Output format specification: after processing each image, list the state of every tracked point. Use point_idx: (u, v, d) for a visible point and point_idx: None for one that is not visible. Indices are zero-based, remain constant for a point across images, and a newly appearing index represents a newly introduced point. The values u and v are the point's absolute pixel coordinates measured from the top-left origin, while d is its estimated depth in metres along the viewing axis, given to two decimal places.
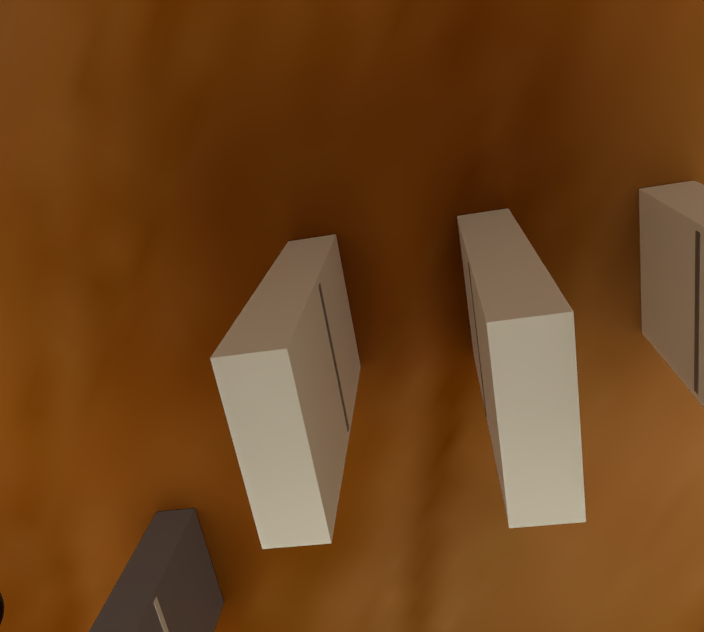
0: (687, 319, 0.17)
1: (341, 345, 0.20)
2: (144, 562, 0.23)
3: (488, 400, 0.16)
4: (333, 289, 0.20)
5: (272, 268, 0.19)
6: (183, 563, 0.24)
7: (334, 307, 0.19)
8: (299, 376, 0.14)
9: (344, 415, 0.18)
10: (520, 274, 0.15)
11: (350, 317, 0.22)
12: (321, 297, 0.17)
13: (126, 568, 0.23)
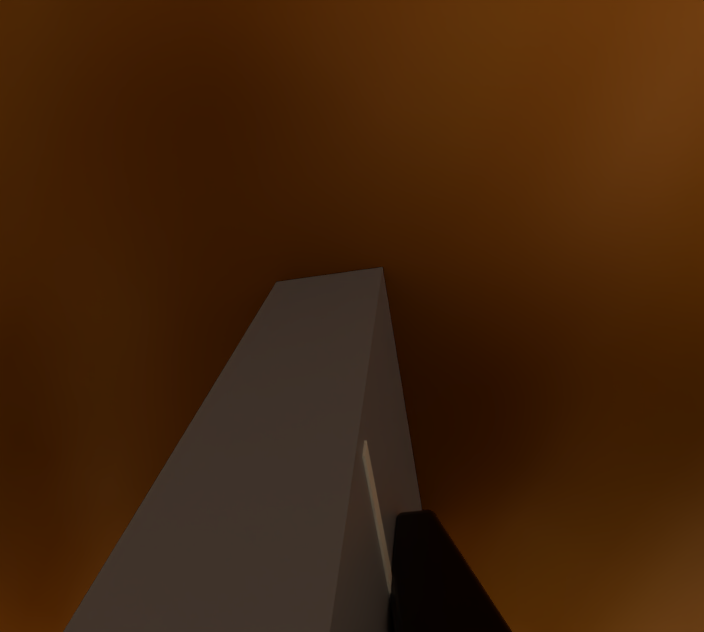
0: None
1: None
2: (284, 360, 0.07)
3: None
4: None
5: None
6: (386, 385, 0.08)
7: None
8: None
9: None
10: None
11: None
12: None
13: (225, 375, 0.07)
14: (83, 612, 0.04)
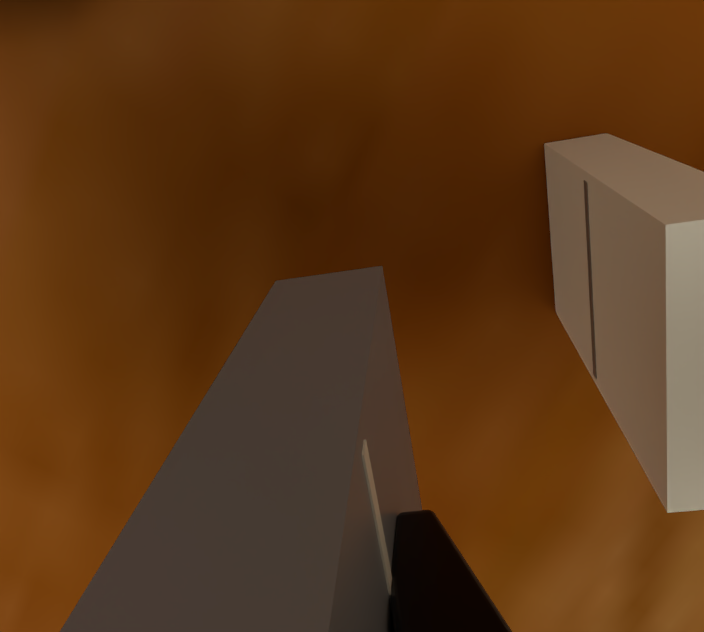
0: None
1: None
2: (283, 358, 0.07)
3: None
4: None
5: (573, 159, 0.15)
6: (386, 384, 0.08)
7: None
8: None
9: None
10: None
11: None
12: None
13: (224, 373, 0.07)
14: (80, 612, 0.04)
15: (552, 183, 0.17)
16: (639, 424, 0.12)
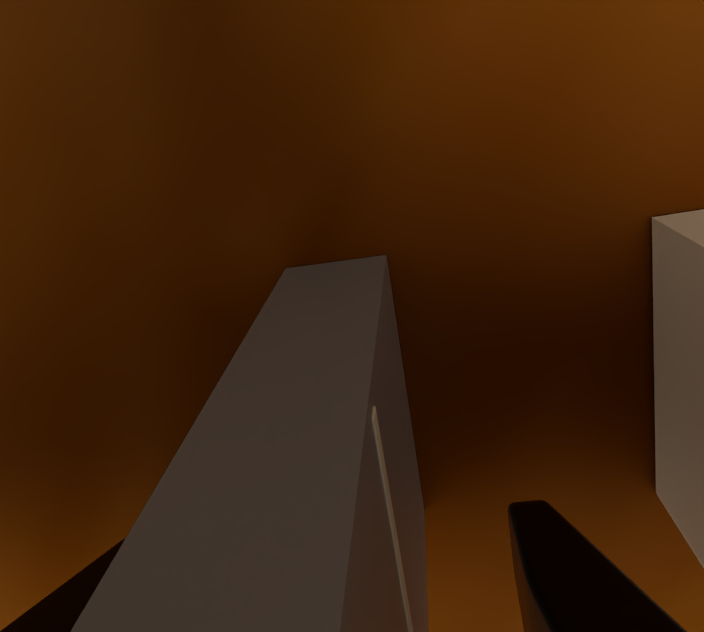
0: None
1: None
2: (296, 336, 0.08)
3: None
4: None
5: None
6: (390, 363, 0.09)
7: None
8: None
9: None
10: None
11: None
12: None
13: (242, 350, 0.07)
14: (129, 544, 0.05)
15: (675, 295, 0.09)
16: None
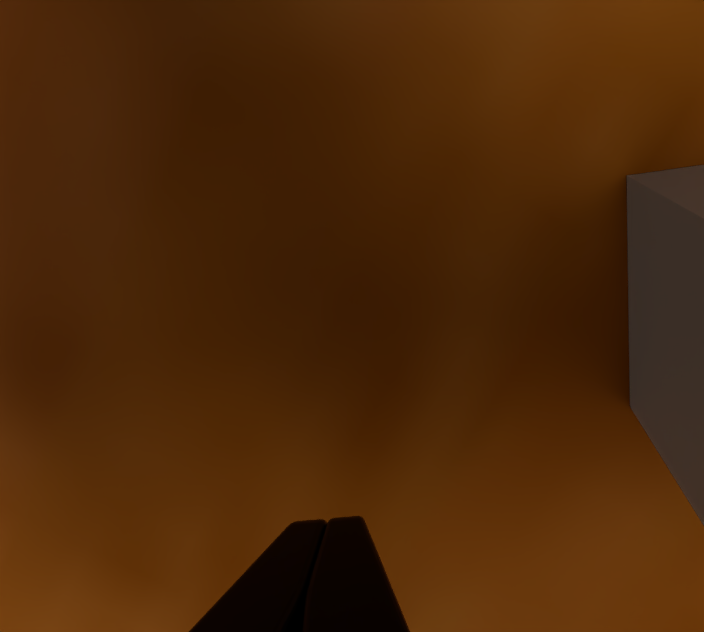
0: None
1: None
2: None
3: None
4: None
5: None
6: None
7: None
8: None
9: None
10: None
11: None
12: None
13: (699, 212, 0.09)
14: None
15: None
16: None
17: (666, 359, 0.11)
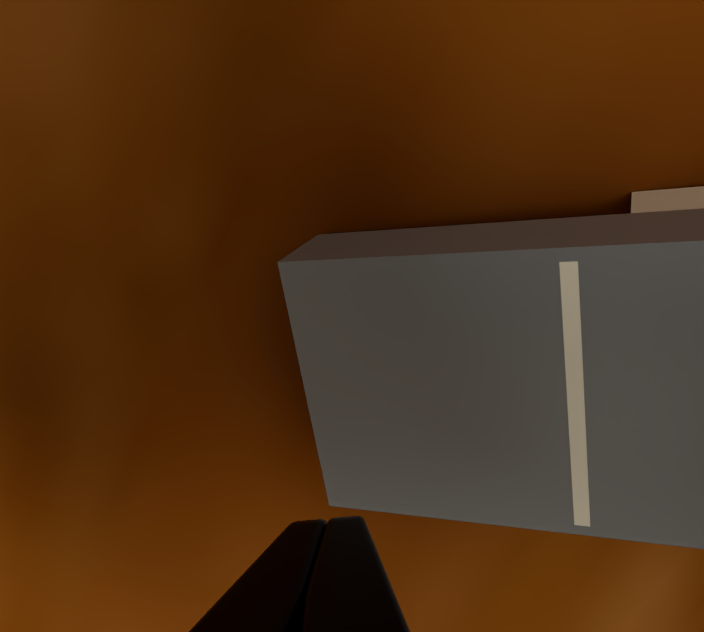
0: None
1: None
2: (463, 240, 0.10)
3: None
4: None
5: None
6: None
7: None
8: None
9: None
10: None
11: None
12: None
13: (468, 251, 0.10)
14: None
15: None
16: None
17: (423, 414, 0.11)
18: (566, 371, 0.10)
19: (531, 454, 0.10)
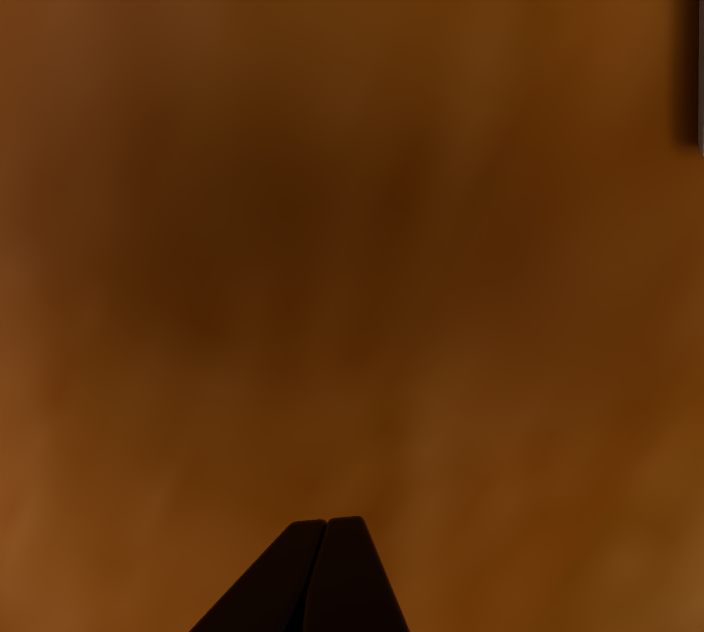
0: None
1: None
2: None
3: None
4: None
5: None
6: None
7: None
8: None
9: None
10: None
11: None
12: None
13: None
14: None
15: None
16: None
17: None
18: None
19: None
